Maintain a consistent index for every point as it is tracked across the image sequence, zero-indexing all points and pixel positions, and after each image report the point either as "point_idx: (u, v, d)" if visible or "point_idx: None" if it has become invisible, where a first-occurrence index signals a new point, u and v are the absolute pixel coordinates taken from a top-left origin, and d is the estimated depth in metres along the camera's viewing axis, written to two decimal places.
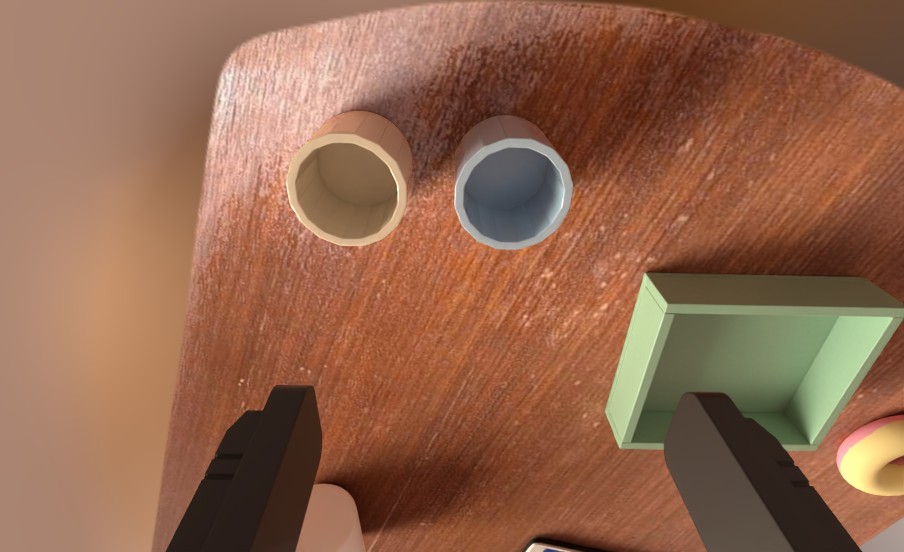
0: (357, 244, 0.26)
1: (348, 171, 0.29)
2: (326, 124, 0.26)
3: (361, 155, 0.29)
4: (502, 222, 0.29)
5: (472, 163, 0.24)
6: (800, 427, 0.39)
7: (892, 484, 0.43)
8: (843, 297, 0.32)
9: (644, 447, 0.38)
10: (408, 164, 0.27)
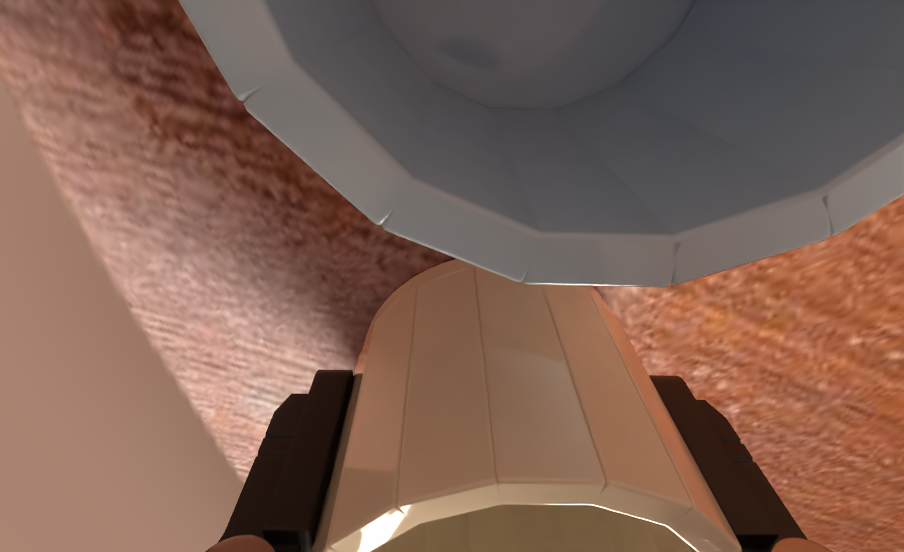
0: None
1: None
2: None
3: None
4: None
5: (373, 184, 0.03)
6: None
7: None
8: None
9: None
10: (468, 336, 0.08)
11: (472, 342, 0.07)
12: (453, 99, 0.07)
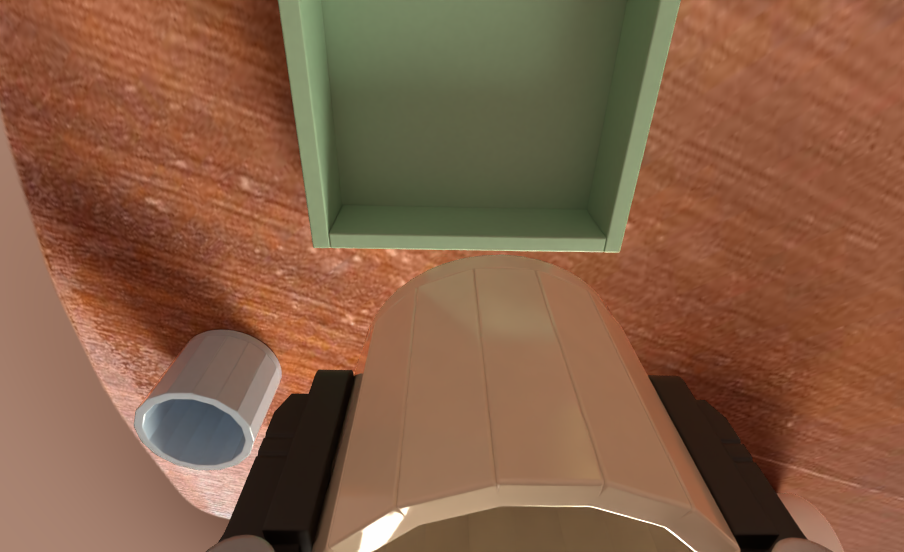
0: None
1: None
2: None
3: None
4: None
5: (173, 460, 0.27)
6: None
7: None
8: None
9: (624, 213, 0.21)
10: (468, 338, 0.08)
11: (472, 343, 0.07)
12: (214, 410, 0.31)
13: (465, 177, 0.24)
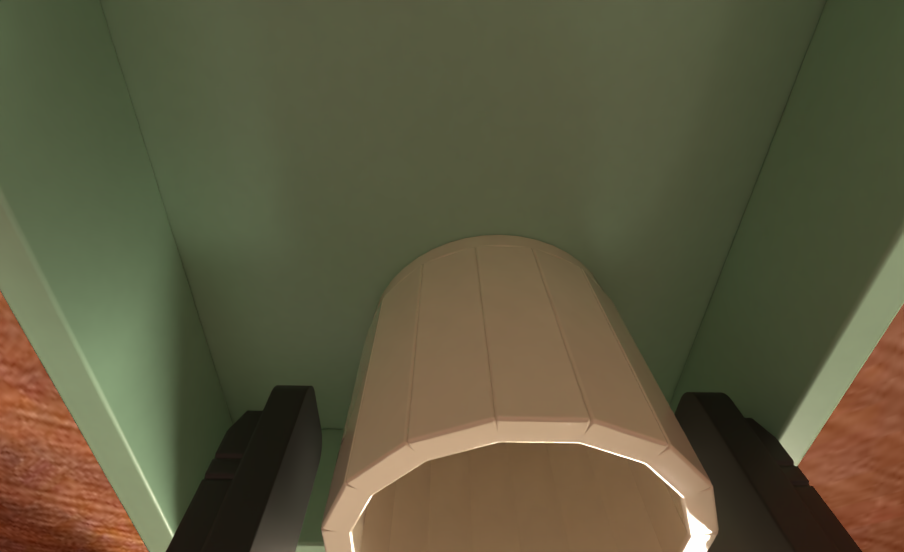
0: (706, 543, 0.08)
1: None
2: None
3: None
4: None
5: None
6: None
7: None
8: None
9: None
10: (470, 305, 0.08)
11: (473, 309, 0.08)
12: None
13: None
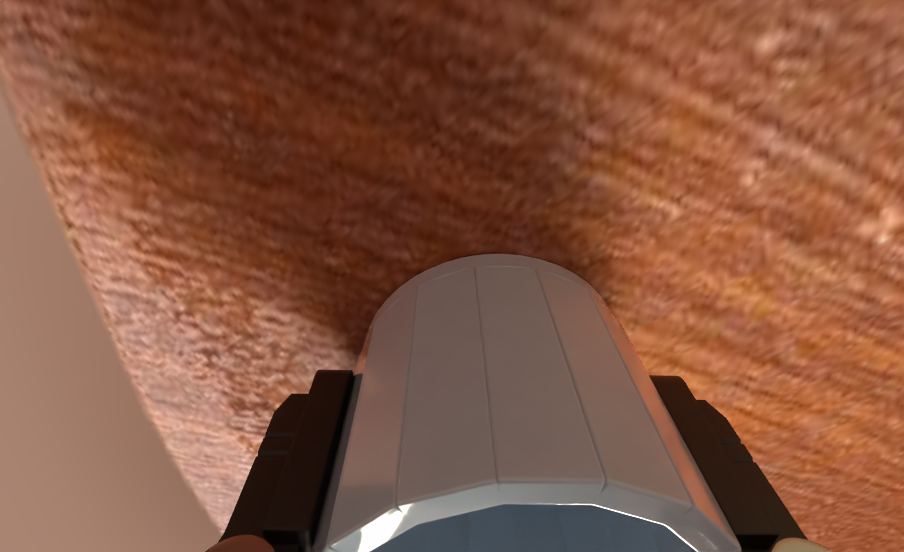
0: None
1: None
2: None
3: None
4: None
5: None
6: None
7: None
8: None
9: None
10: None
11: None
12: None
13: None
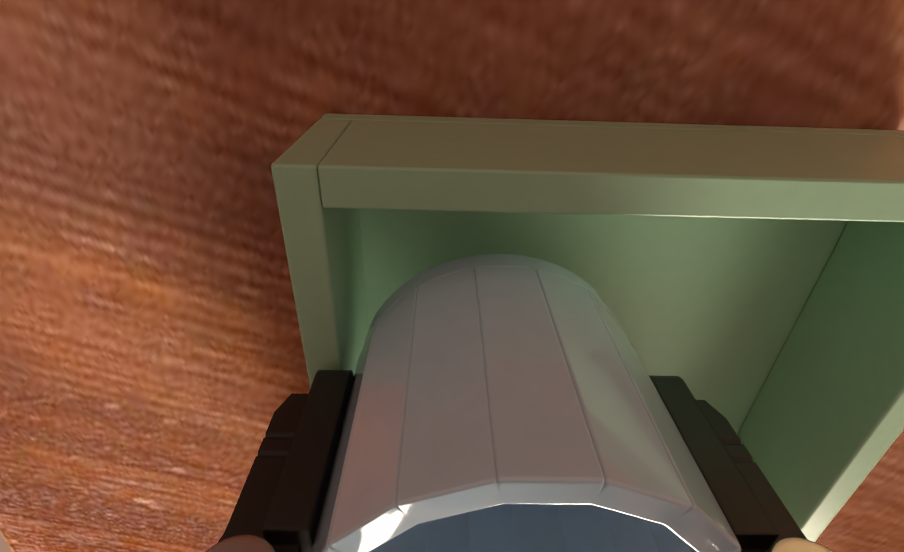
0: None
1: None
2: None
3: None
4: None
5: None
6: None
7: None
8: None
9: None
10: None
11: None
12: None
13: None
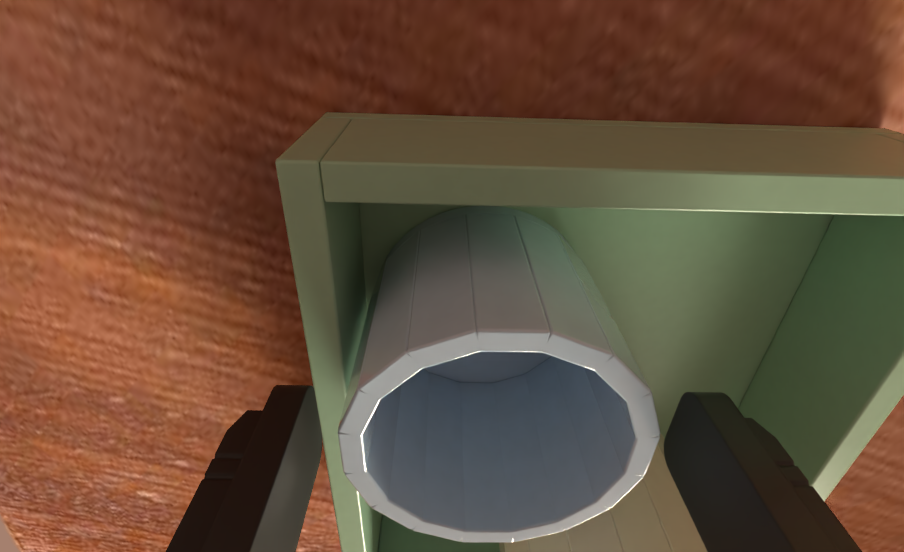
0: None
1: None
2: None
3: None
4: None
5: (410, 521, 0.10)
6: None
7: None
8: None
9: None
10: None
11: None
12: (440, 395, 0.14)
13: None
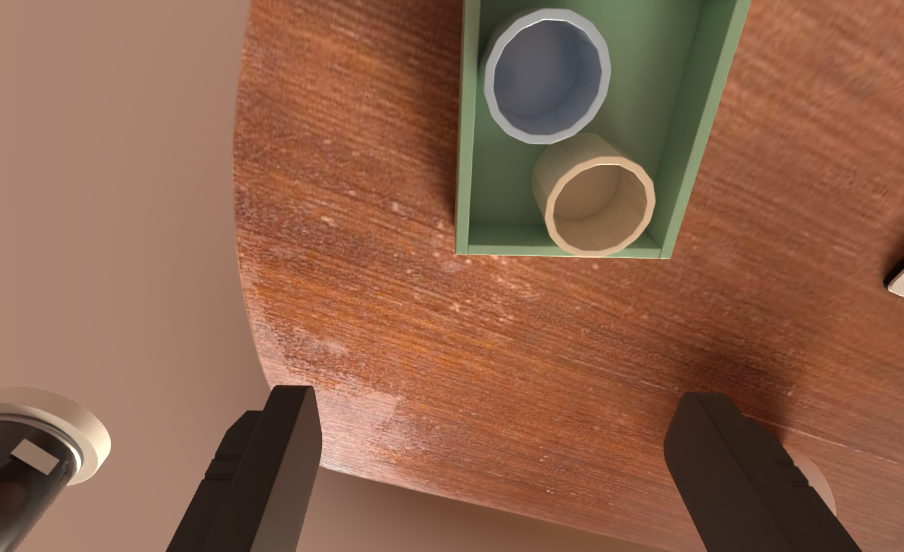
0: (652, 206, 0.27)
1: (582, 193, 0.32)
2: (538, 210, 0.31)
3: (569, 180, 0.31)
4: (585, 76, 0.26)
5: (507, 127, 0.25)
6: None
7: None
8: None
9: (675, 231, 0.30)
10: (583, 144, 0.28)
11: (585, 144, 0.28)
12: (509, 113, 0.28)
13: None
